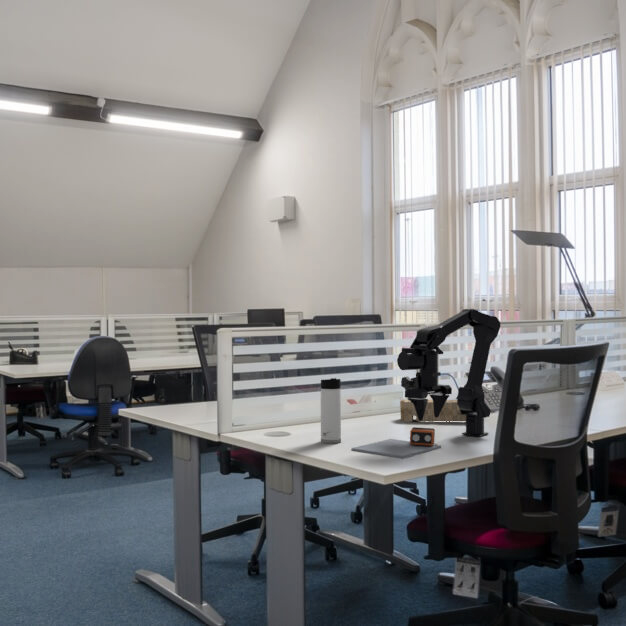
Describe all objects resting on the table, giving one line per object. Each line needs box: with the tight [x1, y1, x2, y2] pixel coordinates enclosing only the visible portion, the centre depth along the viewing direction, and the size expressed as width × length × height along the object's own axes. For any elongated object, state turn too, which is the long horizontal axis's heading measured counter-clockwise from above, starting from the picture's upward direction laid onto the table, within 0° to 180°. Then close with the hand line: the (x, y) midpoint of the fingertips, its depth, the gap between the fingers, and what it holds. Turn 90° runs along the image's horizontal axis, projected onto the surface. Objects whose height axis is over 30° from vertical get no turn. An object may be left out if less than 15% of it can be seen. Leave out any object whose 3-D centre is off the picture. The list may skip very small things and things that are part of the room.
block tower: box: [399, 398, 466, 423], centre depth 269 cm, size 8×8×29 cm
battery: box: [409, 426, 436, 446], centre depth 219 cm, size 4×7×10 cm
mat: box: [351, 438, 442, 459], centre depth 215 cm, size 20×18×1 cm
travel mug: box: [320, 377, 342, 445], centre depth 227 cm, size 6×7×20 cm
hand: (428, 418), depth 229 cm, fingers open, 9 cm apart
